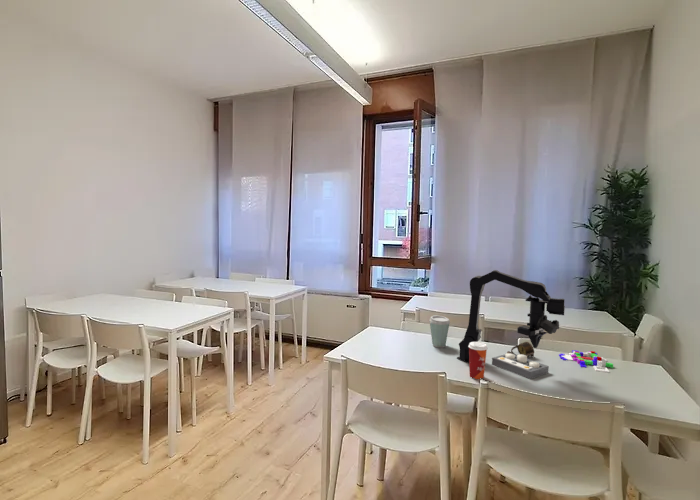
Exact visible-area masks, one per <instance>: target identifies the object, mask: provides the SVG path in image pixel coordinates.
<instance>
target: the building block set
mask: <svg viewBox="0 0 700 500" xmlns="http://www.w3.org/2000/svg"><path fill="white" fill-rule="evenodd" d="M558 356H559V358H560V359H561V360H563V361H566V360H567V361H570V360H573V361H572V362H576V363H577V364H578V365H579V366H580V367H581V368H588V367H587V366H589V365H591V366H592V367H593V369H594V370H595V371H596V372H603V373H608V374H609V373H610V370H609V369H608V368H609V367H611V368H610V369H614V364H613V363H612V362H606V360H607V359H606V358H604V357H601V356H599V355H598V353H597V352H596V351H593V350H590V351H586V352H584V351H579V350H576V349H574V350H573V349H572V350H571V352H569V353H568V354H565V353H559V354H558ZM572 357H574V358H572ZM593 365H594V366H593ZM607 367H608V368H607ZM601 368H602V369H601Z"/></svg>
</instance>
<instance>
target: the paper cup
mask: <svg viewBox="0 0 700 500" xmlns="http://www.w3.org/2000/svg"><path fill="white" fill-rule="evenodd" d="M468 347H469V362H468V365H469V367H468V368H469V369H468V370H469V377H470V378H471V377H472V378H471V379H473V378H475V379H474V380H481V379H480V378H483V379H484V376H485V369H486V360H487V350H488V346H487V344H486V343H484V342H482V341H481V342H480V341H478V342H470V343H469V346H468Z"/></svg>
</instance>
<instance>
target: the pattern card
mask: <svg viewBox="0 0 700 500" xmlns="http://www.w3.org/2000/svg"><path fill="white" fill-rule="evenodd" d="M497 359H498V360H501V361H504V362H507V363H509V364H512V365H515V366H517V367H520V368H523V369H526V370H529V369H532V367H529V366H526V365H523V364H521V363H518V362H515V361H512V360H509V359H507V358H504V357H500V358H497Z"/></svg>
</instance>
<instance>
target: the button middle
mask: <svg viewBox="0 0 700 500" xmlns="http://www.w3.org/2000/svg"><path fill="white" fill-rule="evenodd" d="M516 355H517V362H519V363H522V364H525V363H527V359H528V356H526V355H523V354H516Z"/></svg>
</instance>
